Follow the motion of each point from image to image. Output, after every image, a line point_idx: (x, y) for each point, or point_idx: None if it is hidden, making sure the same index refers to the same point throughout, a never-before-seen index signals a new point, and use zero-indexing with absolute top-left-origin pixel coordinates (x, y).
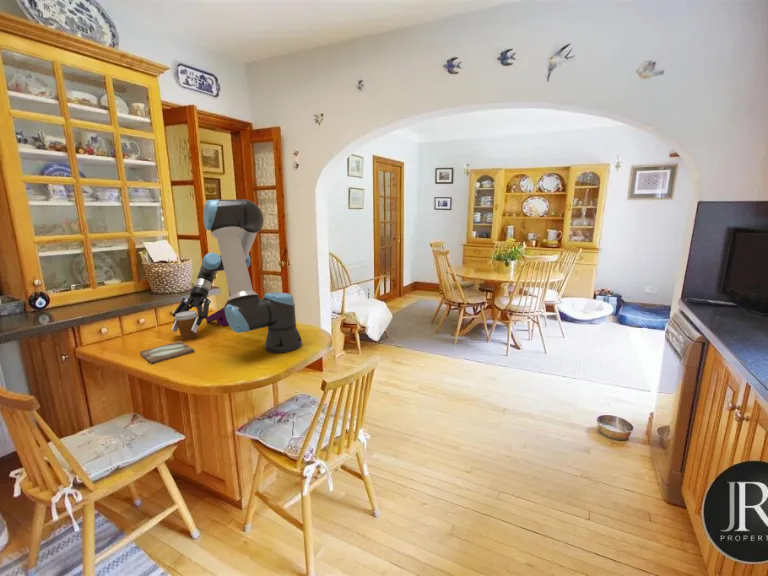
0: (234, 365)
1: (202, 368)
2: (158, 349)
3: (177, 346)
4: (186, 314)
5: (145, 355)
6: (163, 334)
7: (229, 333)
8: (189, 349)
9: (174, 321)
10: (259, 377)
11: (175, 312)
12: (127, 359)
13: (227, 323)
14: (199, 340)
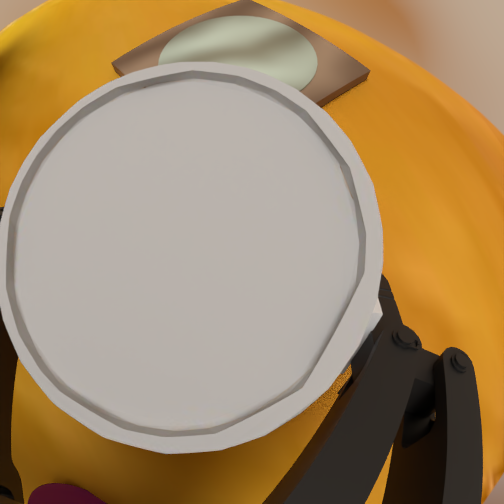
0: (27, 37)
1: (87, 10)
2: (290, 62)
3: None
4: (131, 183)
5: (308, 31)
6: None
7: None
8: (131, 60)
9: (380, 289)
10: (12, 24)
11: (457, 400)
12: (374, 52)
13: (57, 486)
14: None
